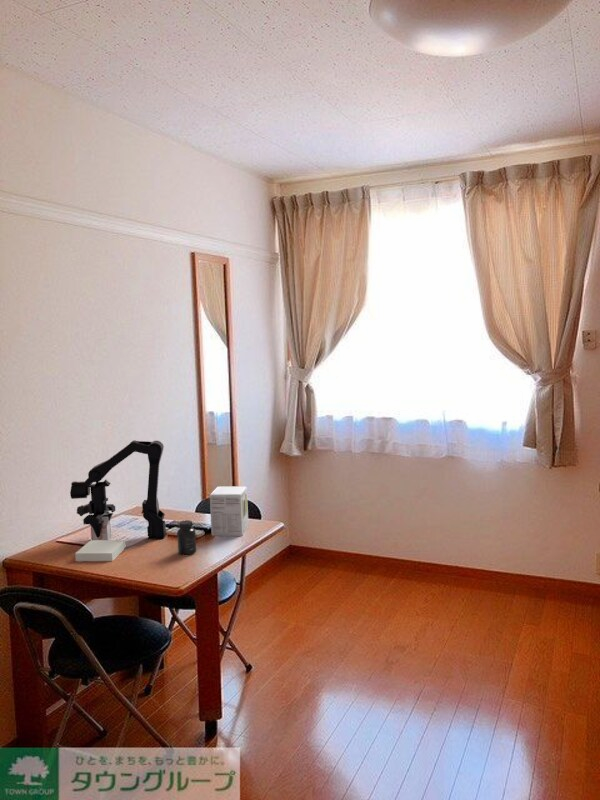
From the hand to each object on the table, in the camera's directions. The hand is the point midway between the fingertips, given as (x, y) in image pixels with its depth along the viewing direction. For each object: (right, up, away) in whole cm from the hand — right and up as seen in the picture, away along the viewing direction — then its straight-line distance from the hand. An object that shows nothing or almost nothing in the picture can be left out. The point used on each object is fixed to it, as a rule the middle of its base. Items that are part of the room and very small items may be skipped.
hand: (101, 534), depth 244 cm
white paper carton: (0, -3, 0) cm, 3 cm away
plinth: (+5, -4, -15) cm, 16 cm away
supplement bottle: (+38, -3, -16) cm, 42 cm away
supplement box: (+52, 0, +8) cm, 52 cm away
